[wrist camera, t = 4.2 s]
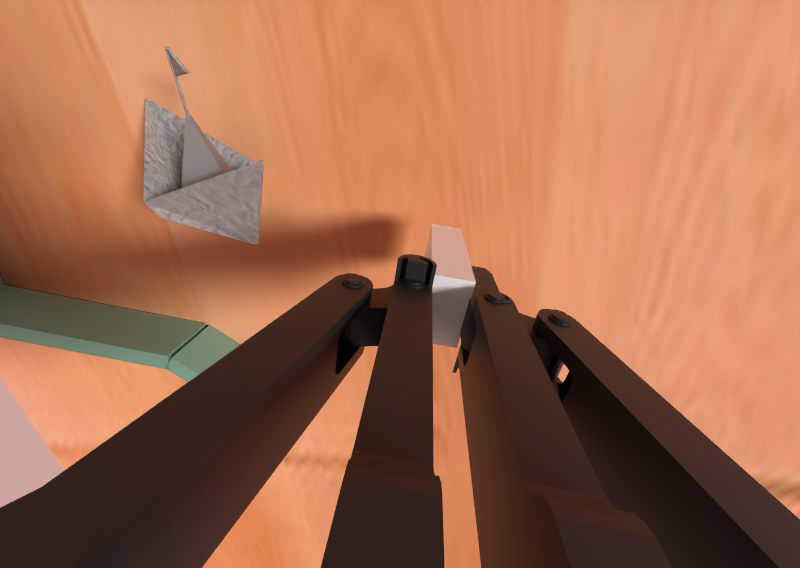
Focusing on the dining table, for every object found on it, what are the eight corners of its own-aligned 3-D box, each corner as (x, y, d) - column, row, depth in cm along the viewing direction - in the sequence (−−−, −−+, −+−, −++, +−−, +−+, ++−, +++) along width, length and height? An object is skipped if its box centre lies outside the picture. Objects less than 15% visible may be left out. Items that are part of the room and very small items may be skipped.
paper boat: (126, 214, 20) (26, 28, 14) (225, 185, 24) (179, 30, 18) (227, 310, 15) (137, 80, 9) (333, 253, 19) (320, 67, 13)
